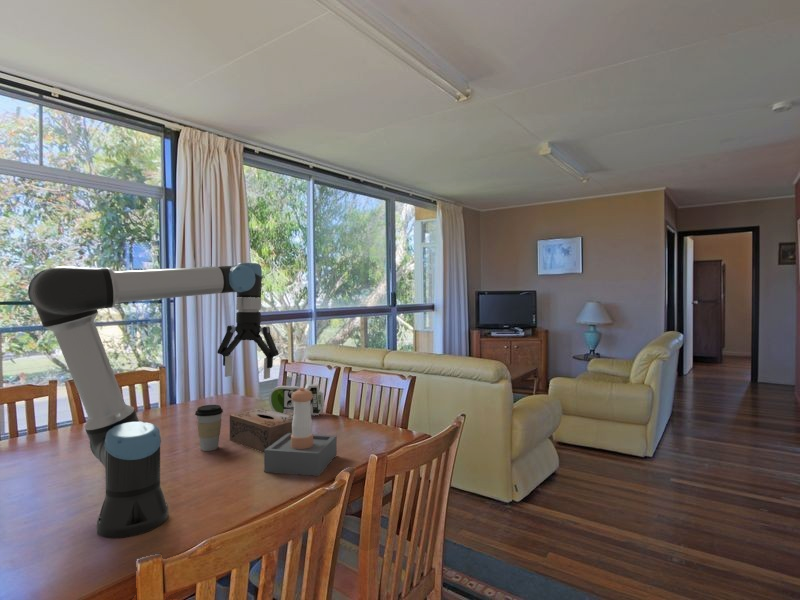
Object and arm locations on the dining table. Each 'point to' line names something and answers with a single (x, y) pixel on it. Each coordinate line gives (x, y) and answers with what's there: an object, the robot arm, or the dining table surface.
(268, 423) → the tissue box cover
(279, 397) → the cutout
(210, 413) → the coffee cup
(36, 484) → the dining table surface
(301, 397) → the salt shaker
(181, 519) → the dining table surface
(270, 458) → the tray
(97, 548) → the dining table surface
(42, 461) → the dining table surface
